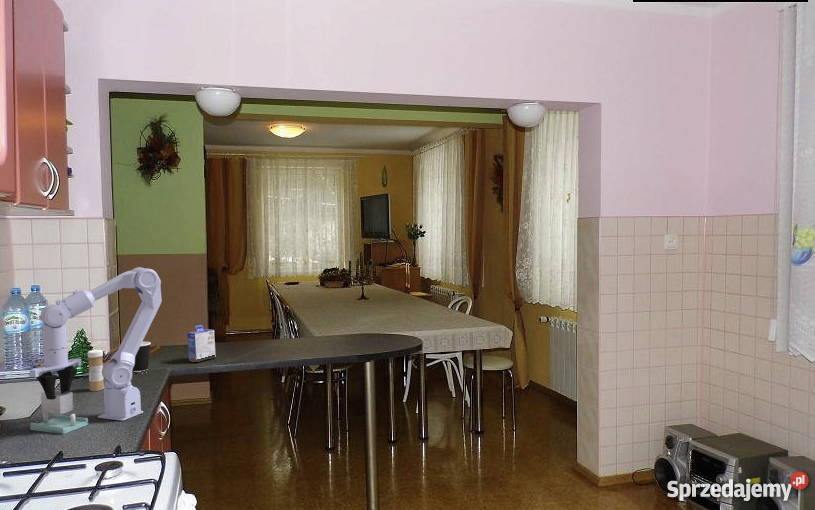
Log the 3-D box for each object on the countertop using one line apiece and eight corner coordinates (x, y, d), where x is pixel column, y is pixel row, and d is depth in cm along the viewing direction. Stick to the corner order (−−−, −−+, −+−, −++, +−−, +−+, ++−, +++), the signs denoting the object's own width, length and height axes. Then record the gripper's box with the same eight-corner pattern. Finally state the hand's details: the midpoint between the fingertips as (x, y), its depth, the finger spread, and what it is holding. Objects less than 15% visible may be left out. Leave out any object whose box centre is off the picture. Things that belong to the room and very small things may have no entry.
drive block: (73, 410, 168) (72, 392, 168) (60, 414, 165) (59, 396, 164) (54, 407, 171) (53, 389, 171) (41, 411, 167) (41, 393, 167)
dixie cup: (125, 374, 227) (123, 345, 226) (136, 369, 235) (134, 341, 234) (145, 374, 226) (144, 345, 225) (155, 369, 234) (154, 341, 233)
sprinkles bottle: (92, 388, 208) (90, 349, 208) (106, 387, 209) (104, 349, 208) (87, 391, 204) (85, 352, 203) (101, 391, 204) (99, 351, 204)
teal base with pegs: (88, 424, 170) (87, 410, 169) (63, 434, 162) (62, 419, 162) (56, 420, 174) (55, 406, 173) (30, 429, 166) (29, 415, 166)
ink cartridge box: (207, 357, 254) (206, 323, 253) (216, 358, 251) (215, 324, 250) (187, 362, 246) (186, 326, 245) (196, 363, 243) (195, 327, 242)
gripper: (67, 342, 175) (69, 388, 176) (20, 352, 161) (23, 403, 162) (86, 343, 173) (88, 390, 173) (39, 354, 159) (42, 405, 160)
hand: (58, 396), depth 167 cm, fingers closed on drive block, 4 cm apart
